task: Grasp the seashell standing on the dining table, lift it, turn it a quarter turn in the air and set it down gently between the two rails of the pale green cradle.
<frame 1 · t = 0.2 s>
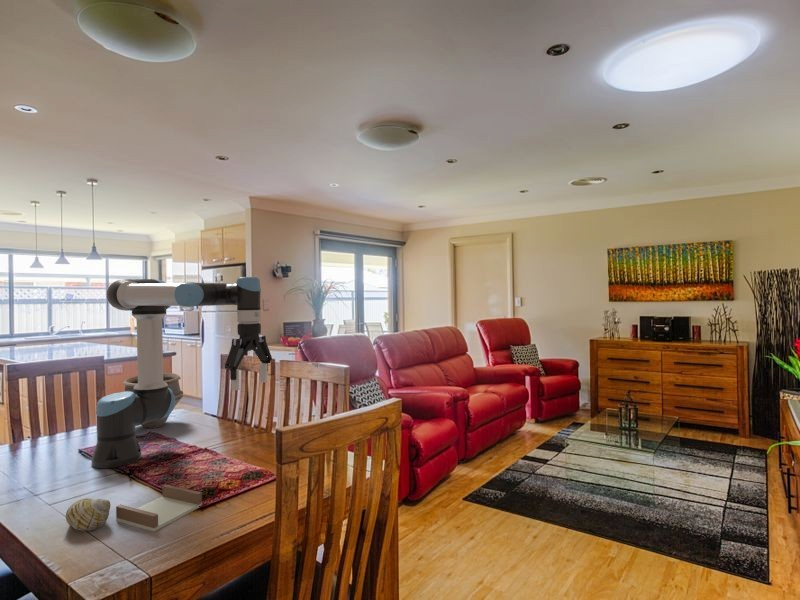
hand: (250, 385, 157), 28 cm above the table, fingers open, 13 cm apart
cradle: (160, 513, 125), on the table
planter: (153, 426, 209), on the table
seashell: (88, 527, 118), on the table
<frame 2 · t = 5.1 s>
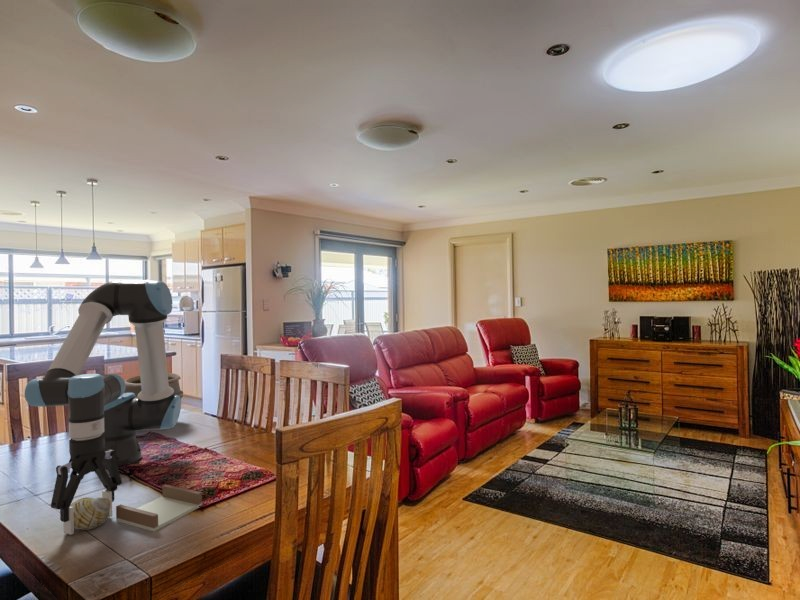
hand: (88, 523, 118), 1 cm above the table, fingers closed on seashell, 9 cm apart
seashell: (88, 525, 119), on the table, touching gripper
everything else where it was.
when the fingers open (3 cm above the table, at t = 11.4 s): seashell drops 2 cm, resting on cradle.
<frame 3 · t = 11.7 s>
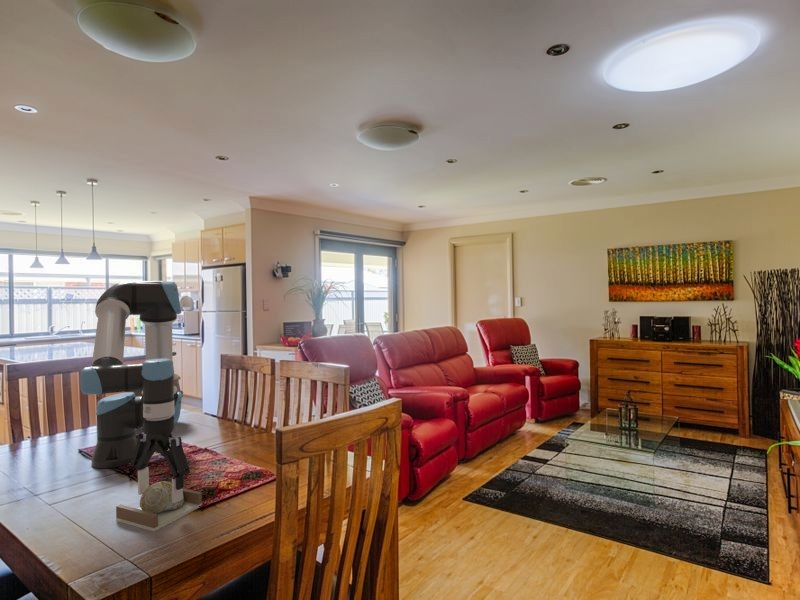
hand: (160, 496, 125), 4 cm above the table, fingers open, 12 cm apart
seashell: (162, 510, 125), point 1 cm above the table, touching cradle
everything else where it was.
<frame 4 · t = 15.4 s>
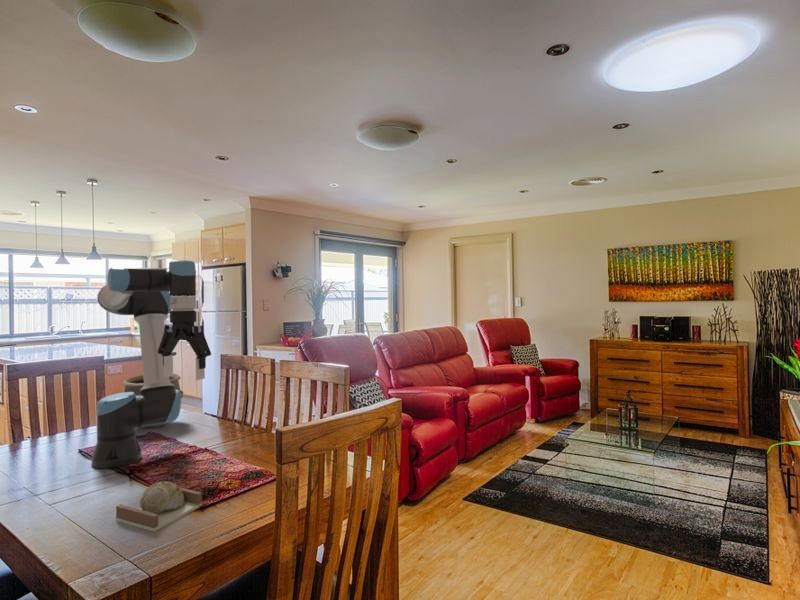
hand: (184, 377, 145), 33 cm above the table, fingers open, 13 cm apart
nothing on the table moved.
at the end: seashell inside the target area on the cradle (0.5 cm from its centre), point 0.6 cm above the cradle's base; the gripper is holding nothing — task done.
